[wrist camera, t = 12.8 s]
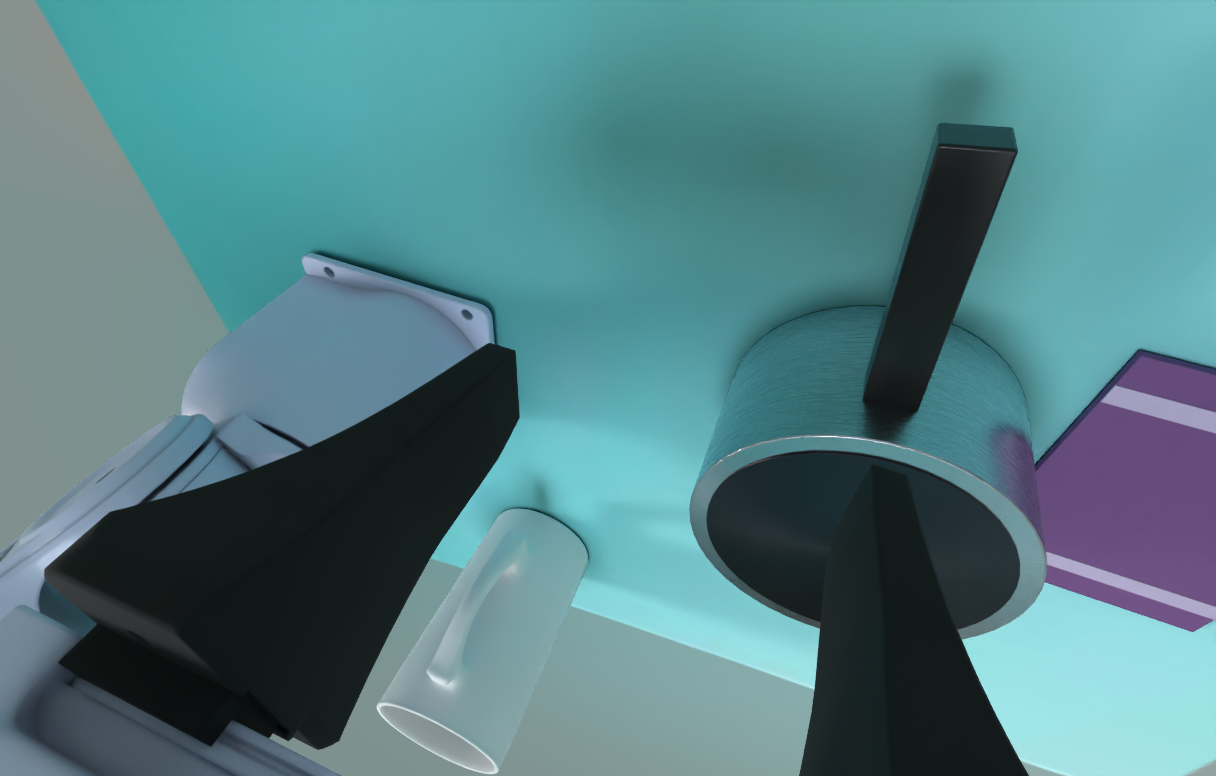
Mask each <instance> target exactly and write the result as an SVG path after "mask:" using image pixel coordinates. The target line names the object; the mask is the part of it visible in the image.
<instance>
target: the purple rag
mask: <svg viewBox="0 0 1216 776" xmlns="http://www.w3.org/2000/svg"><path fill="white" fill-rule="evenodd" d="M1035 473H1036V480H1037V488H1038V495H1039V503H1040V511H1041V518H1042V526H1043V533H1044V541H1045V549H1046V556H1047V575H1046V578H1045V582H1046V583H1049V584H1052V585H1055V586H1058V587H1061V588H1064V589H1067V590H1070V591H1073V592H1076V593H1079V594H1082V595H1085V596H1087V597H1090V598H1093V599H1096V600H1099V601H1102V602H1105V603H1108V604H1111V605H1114V606H1117V607H1120V608H1123V609H1126V610H1129V611H1132V612H1135V613H1138V614H1141V615H1144V616H1147V617H1150V618H1153V619H1156V620H1159V621H1162V622H1165V623H1167V624H1170V625H1173V626H1176V627H1179V628H1182V629H1185V630H1188V631H1191V632H1194V631H1196V630H1198V629H1199V628H1201V627H1203V626H1205V625H1206V624H1208V623H1210V622H1212V621H1213V620H1216V370H1215V369H1211V368H1207V367H1203V366H1199V365H1196V364H1192V363H1188V362H1184V361H1180V360H1176V359H1172V358H1168V357H1164V356H1160V355H1156V354H1153V353H1149V352H1145V351H1141V350H1139V351H1138V352H1137V353H1136V354H1135V356H1134V357H1133V358H1132V359H1131V360H1130V361H1129V362H1128V363H1127V364H1126V366H1125V367H1124V368H1123V369H1122V370H1121V371H1120V372H1119V373H1118V374H1117V376H1116V377H1115V378H1114V379H1113V380H1112V381H1111V382H1110V383H1109V384H1108V385H1107V387H1106V388H1105V389H1104V390H1103V391H1102V392H1101V393H1100V394H1099V395H1098V397H1097V398H1096V399H1095V400H1094V401H1093V402H1092V403H1091V404H1090V405H1089V407H1088V408H1087V409H1086V410H1085V411H1084V412H1083V413H1082V414H1081V415H1080V417H1079V418H1078V419H1077V420H1076V421H1075V422H1074V423H1073V424H1072V425H1071V427H1070V428H1069V429H1068V430H1067V431H1066V432H1065V433H1064V434H1063V435H1062V436H1061V438H1060V439H1059V440H1058V441H1057V442H1056V443H1055V444H1054V445H1053V446H1052V448H1051V449H1050V450H1049V451H1048V452H1047V453H1046V454H1045V455H1044V456H1043V458H1042V459H1041V460H1040V461H1039V462H1038V463H1037V464H1036V465H1035Z"/></svg>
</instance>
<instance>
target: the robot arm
mask: <svg viewBox="0 0 1216 776" xmlns="http://www.w3.org/2000/svg"><path fill="white" fill-rule="evenodd" d="M302 264H303V267H304V270H305V272H306V275H305V276H303V277H302V278H301V279H300V280H298V281H297V282H296V283H294V284H293V285H292V286H290V287H289V288H288V289H287V290H285V291H284V292H283V293H281V294H280V295H279V296H278V297H276V298H275V299H274V300H272V301H271V302H270V303H268V304H267V305H266V306H265V307H263V308H262V309H261V310H259V311H258V312H257V313H255V314H254V315H253V316H252V317H250V318H249V319H248V320H246V321H245V322H244V323H242V324H241V325H240V326H239V327H237V328H236V329H235V330H233V331H232V332H231V333H229V334H228V335H227V336H226V337H224V338H223V339H222V340H220V341H219V342H218V343H217V344H215V345H214V346H213V347H212V348H211V349H210V350H209V351H208V352H207V353H206V354H205V355H204V356H203V358H202V359H201V360H200V362H199V363H198V364H197V366H196V368H195V369H194V370H193V372H192V374H191V376H190V378H189V380H188V382H187V385H186V387H185V390H184V394H183V398H182V415H173V416H171V417H169V418H167V419H165V420H164V421H162V422H160V423H159V424H157V425H155V426H154V427H152V428H151V429H150V430H148V431H147V432H145V433H144V434H142V435H141V436H140V437H138V438H137V439H135V440H134V441H133V442H131V443H130V444H129V445H127V446H126V447H125V448H123V449H122V450H120V451H119V452H118V453H116V454H115V455H114V456H113V457H111V458H110V459H109V460H107V461H106V462H105V463H103V464H102V465H101V466H100V467H98V468H97V469H96V470H94V471H93V472H92V473H91V474H89V475H88V476H87V477H86V478H84V479H83V480H82V481H81V482H79V483H78V484H77V485H76V486H75V487H73V488H72V489H71V490H70V491H69V492H68V493H66V494H65V495H64V496H63V497H62V498H60V499H59V500H58V501H57V502H56V503H54V504H53V505H52V506H51V507H50V508H49V509H47V510H46V512H44V513H43V514H42V515H41V516H40V517H39V518H38V519H36V520H35V521H34V522H33V523H32V524H31V525H30V526H29V527H28V528H27V529H26V530H25V531H24V532H23V534H22V535H20V536H19V537H18V538H16V539H15V540H14V541H13V542H11V543H10V544H9V545H8V546H6V547H5V548H4V549H3V550H1V551H0V776H341V775H339V774H337V773H335V772H333V771H331V770H329V769H327V768H325V767H323V766H321V765H319V764H317V763H315V762H313V761H311V760H310V759H308V758H306V757H304V756H302V755H300V754H298V753H296V752H294V751H292V750H290V749H288V748H286V747H284V746H282V745H280V744H278V743H277V742H275V741H273V740H271V739H269V737H270V736H271V735H272V734H273V733H274V734H275V735H277V736H279V737H281V738H283V739H285V740H287V741H289V740H290V739H292V737H294V738H296V739H298V740H300V741H302V742H303V743H305V744H307V745H309V746H312V747H313V748H315V749H317V750H319V749H323V748H325V747H328V746H331V745H333V744H334V743H336V742H338V741H339V740H340V738H341V735H342V733H343V731H344V728H345V726H346V724H347V722H348V719H349V717H350V715H351V713H352V711H353V709H354V706H355V704H356V702H357V700H358V698H359V695H360V693H361V691H362V689H363V687H364V685H365V682H366V680H367V678H368V676H369V674H370V672H371V670H372V668H373V666H374V664H375V662H376V660H377V658H378V656H379V653H380V652H381V649H382V648H383V646H384V644H385V642H386V639H387V637H388V635H389V633H390V632H391V630H392V628H393V626H394V624H395V622H396V620H397V618H398V616H399V614H400V613H401V611H402V609H403V607H404V605H405V603H406V601H407V599H408V597H409V595H410V594H411V592H412V590H413V588H414V586H415V585H416V583H417V581H418V579H419V577H420V576H421V574H422V572H423V570H424V568H425V567H426V565H427V563H428V561H429V559H430V558H431V556H432V554H433V553H434V551H435V550H436V548H437V547H438V545H439V543H440V542H441V540H442V539H443V537H444V536H445V534H446V533H447V531H448V530H449V529H450V527H451V526H452V524H453V523H454V521H455V520H456V519H457V517H458V516H459V514H460V513H461V511H462V510H463V509H464V507H465V506H466V504H467V503H468V501H469V500H470V499H471V497H472V496H473V494H474V493H475V491H476V490H477V489H478V487H479V486H480V484H481V483H482V481H483V480H484V478H485V477H486V476H487V474H488V473H489V471H490V470H491V468H492V467H493V465H494V464H495V462H496V461H497V459H498V458H499V456H500V454H501V452H502V451H503V449H504V447H505V445H506V443H507V441H508V439H509V437H510V435H511V433H512V431H513V429H514V427H515V425H516V423H517V421H518V419H519V417H520V416H519V400H518V384H517V368H516V352H515V351H514V350H511V349H508V348H505V347H502V346H499V345H495V342H494V332H493V321H492V315H491V312H490V311H489V309H488V308H487V307H486V306H484V305H482V304H479V303H476V302H472V301H469V300H466V299H463V298H459V297H456V296H453V295H449V294H446V293H443V292H439V291H436V290H433V289H430V288H426V287H423V286H420V285H416V284H413V283H410V282H407V281H403V280H400V279H397V278H393V277H390V276H387V275H383V274H380V273H377V272H374V271H370V270H367V269H364V268H360V267H357V266H354V265H351V264H347V263H344V262H341V261H337V260H334V259H331V258H327V257H324V256H321V255H318V254H314V253H308V254H307V255H305V256H304V257H303V258H302ZM467 310H468V311H469V312H470V313H469V312H468V311H467ZM799 776H1029V775H1028V773H1027V771H1026V770H1025V768H1024V766H1023V765H1022V763H1021V761H1020V759H1019V758H1018V756H1017V754H1016V752H1015V750H1014V748H1013V746H1012V744H1011V743H1010V741H1009V739H1008V737H1007V735H1006V733H1005V731H1004V729H1003V727H1002V725H1001V723H1000V721H999V720H998V718H997V716H996V714H995V712H994V710H993V708H992V706H991V703H990V701H989V699H988V697H987V695H986V693H985V691H984V689H983V687H982V685H981V683H980V681H979V678H978V676H977V674H976V672H975V670H974V667H973V665H972V663H971V661H970V658H969V656H968V654H967V651H966V649H965V647H964V644H963V642H962V639H961V637H960V634H959V632H958V629H957V627H956V625H955V622H954V620H953V617H952V614H951V612H950V609H949V606H948V604H947V601H946V598H945V595H944V593H943V590H942V587H941V584H940V581H939V578H938V575H937V572H936V570H935V567H934V564H933V561H932V558H931V554H930V551H929V548H928V545H927V541H926V538H925V535H924V531H923V528H922V524H921V521H920V517H919V513H918V510H917V506H916V502H915V498H914V494H913V490H912V485H911V481H910V479H909V478H908V476H907V475H905V474H902V473H899V472H896V471H892V470H889V469H886V468H883V467H880V466H877V465H874V464H872V465H871V467H870V469H869V470H868V472H867V474H866V475H865V477H864V479H863V480H862V482H861V484H860V485H859V487H858V489H857V491H856V492H855V494H854V496H853V497H852V499H851V501H850V502H849V504H848V506H847V507H846V509H845V511H844V512H843V514H842V516H841V517H840V519H839V521H838V523H837V524H836V527H835V531H834V536H833V540H832V545H831V549H830V554H829V558H828V563H827V568H826V573H825V581H824V591H823V602H822V612H821V624H820V635H819V647H818V658H817V669H816V681H815V691H814V698H813V706H812V713H811V718H810V724H809V729H808V734H807V740H806V745H805V749H804V755H803V760H802V765H801V770H800V774H799Z"/></svg>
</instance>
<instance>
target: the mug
mask: <svg viewBox="0 0 1216 776" xmlns="http://www.w3.org/2000/svg"><path fill="white" fill-rule="evenodd" d="M587 563H588V554H587V550H586V548H585V546H584V544H583V543H582V542H581V540H580V539H579V538H578V537H577V536H576V535H575V534H574V533H573V532H572V531H571V530H570V529H568V528H567V527H566V526H564V525H563V524H561V523H560V522H558V521H557V520H555V519H553V518H551V517H549V516H547V515H544V514H542V513H539V512H536V511H532V510H528V509H509V510H506V511H504V512H502V513H501V514H500V515H499V516H498V518H497V519H496V521H495V522H494V524H493V525H492V527H491V528H490V530H489V531H488V533H487V534H486V536H485V538H484V539H483V541H482V542H481V544H480V545H479V547H478V548H477V550H476V551H475V553H474V554H473V556H472V557H471V559H470V561H469V562H468V564H467V565H466V567H465V568H464V570H463V572H462V573H461V575H460V577H459V578H458V579H457V581H456V583H455V584H454V586H453V587H452V589H451V591H450V592H449V594H448V595H447V597H446V598H445V600H444V602H443V603H442V604H441V606H440V608H439V609H438V611H437V612H436V614H435V615H434V617H433V618H432V620H431V621H430V623H429V625H428V626H427V628H426V629H425V631H424V632H423V634H422V636H421V637H420V639H419V640H418V642H417V643H416V645H415V646H414V648H413V649H412V651H411V652H410V654H409V656H408V657H407V659H406V660H405V662H404V664H403V665H402V666H401V668H400V670H399V671H398V673H397V674H396V676H395V678H394V679H393V681H392V683H391V685H390V686H389V688H388V689H387V691H386V693H385V694H384V696H383V697H382V699H381V700H380V702H379V703H378V704H377V710H378V712H379V713H380V715H381V716H382V717H383V718H384V719H385V720H386V721H387V722H388V723H389V724H390V725H392V726H393V727H394V728H395V729H397V730H398V731H399V732H401V733H402V734H403V735H405V736H406V737H408V738H409V739H411V740H412V741H414V742H416V743H417V744H419V745H420V746H422V747H424V748H426V749H427V750H429V751H431V752H433V753H434V754H436V755H438V756H440V757H442V758H444V759H446V760H448V761H450V762H453V763H455V764H457V765H460V766H462V767H465V768H467V769H470V770H473V771H476V772H480V773H484V774H496V773H497V772H498V771H499V768H500V766H501V764H502V762H503V760H504V757H505V755H506V753H507V751H508V749H509V747H510V745H511V742H512V740H513V738H514V736H515V733H516V731H517V729H518V726H519V724H520V722H521V719H522V717H523V715H524V712H525V710H526V708H527V705H528V703H529V701H530V698H531V696H532V694H533V691H534V689H535V687H536V684H537V682H538V680H539V677H540V675H541V673H542V670H543V668H544V665H545V663H546V661H547V658H548V656H549V654H550V651H551V649H552V647H553V644H554V642H555V639H556V637H557V635H558V633H559V631H560V628H561V626H562V623H563V621H564V619H565V617H566V614H567V612H568V610H569V608H570V605H571V603H572V601H573V598H574V596H575V594H576V591H577V589H578V586H579V584H580V581H581V579H582V576H583V574H584V571H585V569H586V566H587Z"/></svg>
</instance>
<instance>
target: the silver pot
mask: <svg viewBox="0 0 1216 776" xmlns="http://www.w3.org/2000/svg"><path fill="white" fill-rule="evenodd" d="M1017 153H1018V149H1017V144H1016V139H1015V134H1014V129H1013V128H1011V127H996V126H981V125H965V124H950V123H940V124H939V125H938V126H937V129H936V132H935V136H934V139H933V143H932V146H931V149H930V153H929V156H928V160H927V163H926V167H925V170H924V174H923V177H922V181H921V184H920V188H919V191H918V195H917V198H916V201H915V205H914V208H913V212H912V215H911V219H910V222H909V226H908V229H907V233H906V236H905V240H904V243H903V247H902V250H901V253H900V257H899V260H898V264H897V267H896V271H895V274H894V278H893V281H892V285H891V288H890V292H889V295H888V299H887V302H886V305H885V307H880V306H852V307H842V308H833V309H828V310H824V311H819V312H814V313H811V314H808V315H805V316H802V317H799V318H796V319H794V320H792V321H790V322H788V323H785V324H783V325H781V326H779V327H778V328H776V329H775V330H773V331H771V332H770V333H768V334H767V335H765V336H764V337H763V338H762V339H761V340H759V341H758V342H757V343H756V344H755V345H754V346H753V347H752V348H751V349H750V350H749V351H748V353H747V354H746V355H745V356H744V358H743V359H742V361H741V363H740V364H739V366H738V368H737V370H736V373H735V375H734V378H733V380H732V383H731V386H730V389H729V392H728V395H727V397H726V400H725V403H724V406H723V409H722V411H721V414H720V417H719V420H718V423H717V426H716V428H715V431H714V434H713V437H712V440H711V442H710V445H709V448H708V451H707V454H706V457H705V459H704V462H703V465H702V468H701V471H700V473H699V476H698V479H697V482H696V485H695V488H694V490H693V493H692V496H691V502H690V508H689V509H690V522H691V526H692V529H693V533H694V536H695V538H696V540H697V542H698V544H699V546H700V548H701V549H702V551H703V552H704V554H705V556H706V557H707V558H708V559H709V561H710V562H711V563H712V564H713V565H714V567H715V568H716V569H717V570H718V571H719V572H720V573H721V574H722V575H723V576H724V577H725V578H726V579H728V580H729V581H730V582H731V583H733V584H734V585H735V586H736V587H737V588H739V589H740V590H742V591H743V592H744V593H746V594H747V595H749V596H750V597H752V598H753V599H755V600H757V601H758V602H760V603H762V604H764V605H765V606H767V607H769V608H771V609H773V610H775V611H777V612H779V613H781V614H783V615H785V616H788V617H790V618H793V619H795V620H797V621H800V622H802V623H805V624H808V625H811V626H814V627H817V628H820V624H821V612H822V602H823V591H824V581H825V573H826V568H827V563H828V558H829V554H830V549H831V545H832V540H833V536H834V531H835V527H836V524H837V523H838V521H839V519H840V517H841V516H842V514H843V512H844V511H845V509H846V507H847V506H848V504H849V502H850V501H851V499H852V497H853V496H854V494H855V492H856V491H857V489H858V487H859V485H860V484H861V482H862V480H863V479H864V477H865V475H866V474H867V472H868V470H869V469H870V467H871V465H872V464H874V465H877V466H880V467H883V468H886V469H889V470H892V471H896V472H899V473H902V474H905V475H907V476H908V478H909V479H910V481H911V485H912V490H913V494H914V498H915V502H916V506H917V510H918V513H919V517H920V521H921V524H922V528H923V531H924V535H925V538H926V541H927V545H928V548H929V551H930V554H931V558H932V561H933V564H934V567H935V570H936V572H937V575H938V578H939V581H940V584H941V587H942V590H943V593H944V595H945V598H946V601H947V604H948V606H949V609H950V612H951V614H952V617H953V620H954V622H955V625H956V627H957V629H958V632H959V634H960V637H961V639H965V638H970V637H974V636H978V635H981V634H984V633H987V632H990V631H993V630H995V629H998V628H1000V627H1002V626H1004V625H1006V624H1008V623H1010V622H1011V621H1013V620H1014V619H1016V618H1017V617H1019V616H1020V615H1021V614H1023V613H1024V612H1025V611H1026V610H1027V609H1028V608H1029V607H1030V606H1031V605H1032V604H1033V603H1034V602H1035V600H1036V598H1037V597H1038V595H1039V594H1040V592H1041V590H1042V588H1043V585H1044V582H1045V578H1046V575H1047V556H1046V549H1045V541H1044V533H1043V526H1042V518H1041V511H1040V503H1039V495H1038V488H1037V480H1036V473H1035V465H1034V457H1033V450H1032V442H1031V435H1030V427H1029V419H1028V412H1027V406H1026V401H1025V396H1024V393H1023V391H1022V388H1021V386H1020V384H1019V381H1018V379H1017V378H1016V376H1015V375H1014V373H1013V372H1012V370H1011V369H1010V367H1009V366H1008V365H1007V364H1006V363H1005V361H1004V360H1003V359H1002V358H1001V357H1000V356H999V355H998V354H997V353H996V352H995V351H994V350H993V349H991V348H990V347H989V346H988V345H986V344H985V343H984V342H983V341H981V340H980V339H978V338H977V337H975V336H973V335H972V334H970V333H968V332H967V331H965V330H963V329H962V328H960V327H957V326H955V325H953V324H952V322H953V319H954V317H955V314H956V311H957V309H958V306H959V304H960V301H961V298H962V296H963V293H964V291H965V288H966V285H967V283H968V280H969V278H970V275H971V272H972V270H973V267H974V265H975V262H976V259H977V257H978V254H979V252H980V249H981V247H982V244H983V241H984V239H985V236H986V234H987V231H988V228H989V226H990V223H991V221H992V218H993V215H994V213H995V210H996V208H997V205H998V202H999V200H1000V197H1001V195H1002V192H1003V189H1004V187H1005V184H1006V182H1007V179H1008V177H1009V174H1010V171H1011V169H1012V166H1013V164H1014V161H1015V158H1016V156H1017Z"/></svg>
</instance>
